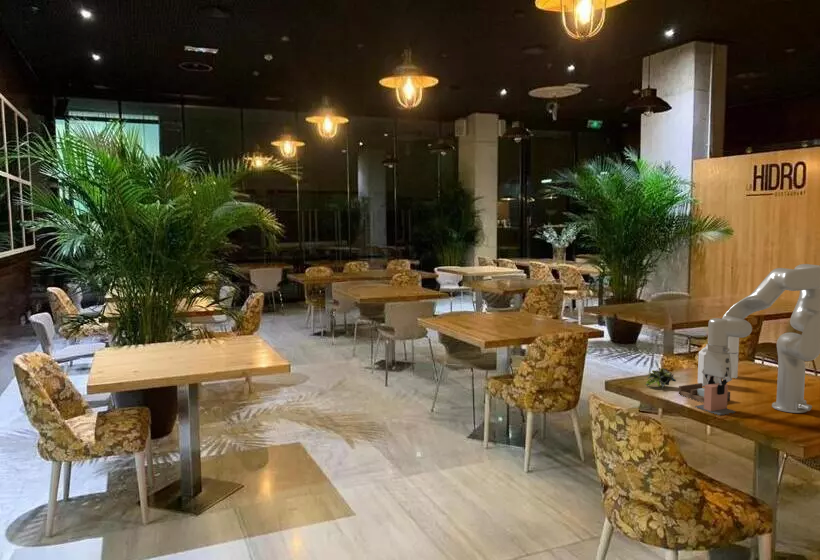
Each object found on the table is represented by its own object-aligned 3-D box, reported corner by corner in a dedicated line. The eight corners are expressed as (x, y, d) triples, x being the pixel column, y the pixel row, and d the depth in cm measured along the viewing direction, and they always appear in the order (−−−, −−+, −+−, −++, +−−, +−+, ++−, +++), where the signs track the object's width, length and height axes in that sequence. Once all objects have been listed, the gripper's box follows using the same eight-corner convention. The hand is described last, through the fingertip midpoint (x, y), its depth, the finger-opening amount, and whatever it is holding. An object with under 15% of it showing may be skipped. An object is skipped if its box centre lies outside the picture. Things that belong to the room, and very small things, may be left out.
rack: (729, 400, 268) (730, 391, 267) (707, 404, 263) (707, 395, 262) (700, 391, 282) (700, 383, 282) (678, 394, 277) (679, 386, 277)
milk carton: (712, 383, 297) (714, 343, 295) (718, 387, 290) (720, 347, 288) (697, 382, 297) (698, 343, 295) (702, 386, 290) (704, 346, 288)
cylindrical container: (718, 375, 310) (720, 326, 307) (727, 374, 313) (729, 325, 310) (730, 379, 303) (732, 328, 301) (740, 377, 306) (742, 327, 304)
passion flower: (662, 397, 293) (678, 377, 292) (664, 399, 282) (680, 378, 281) (641, 382, 296) (657, 362, 295) (642, 383, 286) (659, 363, 285)
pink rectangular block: (726, 408, 255) (727, 384, 254) (710, 411, 251) (711, 387, 251) (719, 406, 258) (720, 382, 257) (703, 408, 255) (704, 385, 254)
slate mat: (735, 412, 251) (735, 411, 251) (719, 415, 248) (719, 414, 248) (711, 404, 262) (711, 403, 262) (695, 407, 259) (695, 405, 259)
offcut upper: (722, 396, 267) (722, 390, 267) (707, 398, 265) (708, 392, 265) (711, 392, 273) (711, 387, 273) (697, 394, 270) (697, 388, 270)
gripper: (742, 351, 246) (740, 397, 248) (707, 344, 262) (706, 386, 263) (728, 353, 243) (726, 399, 245) (694, 345, 259) (692, 388, 260)
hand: (716, 392), depth 254 cm, fingers open, 4 cm apart
